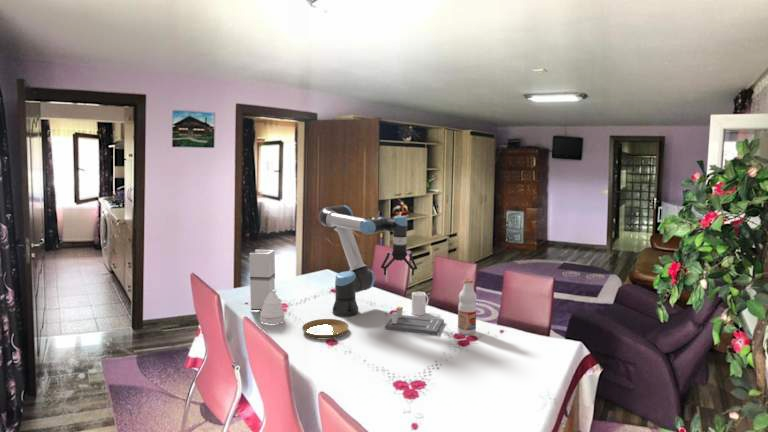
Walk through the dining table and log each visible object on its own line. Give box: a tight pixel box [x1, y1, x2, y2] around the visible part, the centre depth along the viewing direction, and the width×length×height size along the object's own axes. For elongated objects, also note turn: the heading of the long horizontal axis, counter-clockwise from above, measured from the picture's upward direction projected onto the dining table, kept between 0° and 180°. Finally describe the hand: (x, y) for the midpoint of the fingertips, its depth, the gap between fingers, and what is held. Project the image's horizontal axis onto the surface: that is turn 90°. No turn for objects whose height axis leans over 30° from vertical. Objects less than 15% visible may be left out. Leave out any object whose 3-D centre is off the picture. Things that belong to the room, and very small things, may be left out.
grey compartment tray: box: [384, 314, 445, 336], centre depth 285 cm, size 28×20×2 cm
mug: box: [410, 291, 429, 317], centre depth 307 cm, size 12×8×12 cm
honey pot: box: [260, 289, 285, 325], centre depth 290 cm, size 13×13×18 cm
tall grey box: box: [249, 249, 276, 311], centre depth 309 cm, size 11×11×35 cm
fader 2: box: [396, 306, 404, 318], centre depth 292 cm, size 3×3×5 cm
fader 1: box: [391, 311, 398, 324], centre depth 283 cm, size 3×3×5 cm
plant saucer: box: [301, 318, 349, 339], centre depth 275 cm, size 24×24×3 cm
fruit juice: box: [457, 278, 477, 335], centre depth 275 cm, size 9×9×28 cm
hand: (398, 280), depth 295 cm, fingers open, 13 cm apart
